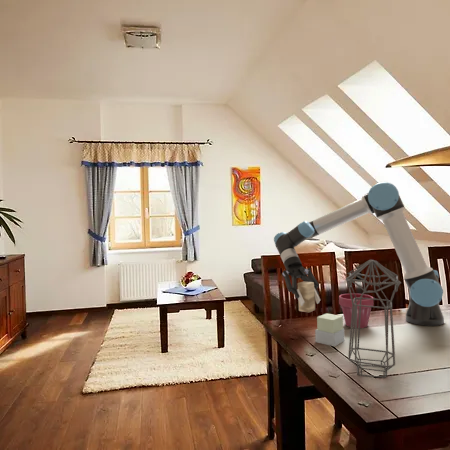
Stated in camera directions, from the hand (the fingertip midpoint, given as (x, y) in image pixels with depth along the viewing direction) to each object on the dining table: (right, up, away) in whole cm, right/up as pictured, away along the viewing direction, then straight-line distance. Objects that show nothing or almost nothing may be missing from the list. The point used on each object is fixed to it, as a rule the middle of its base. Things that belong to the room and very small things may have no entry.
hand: (310, 302), depth 158 cm
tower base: (+5, -13, -12) cm, 18 cm away
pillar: (-1, -4, +3) cm, 5 cm away
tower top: (+5, -8, -12) cm, 15 cm away
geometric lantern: (+11, -13, -41) cm, 44 cm away
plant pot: (+22, -12, +7) cm, 26 cm away
